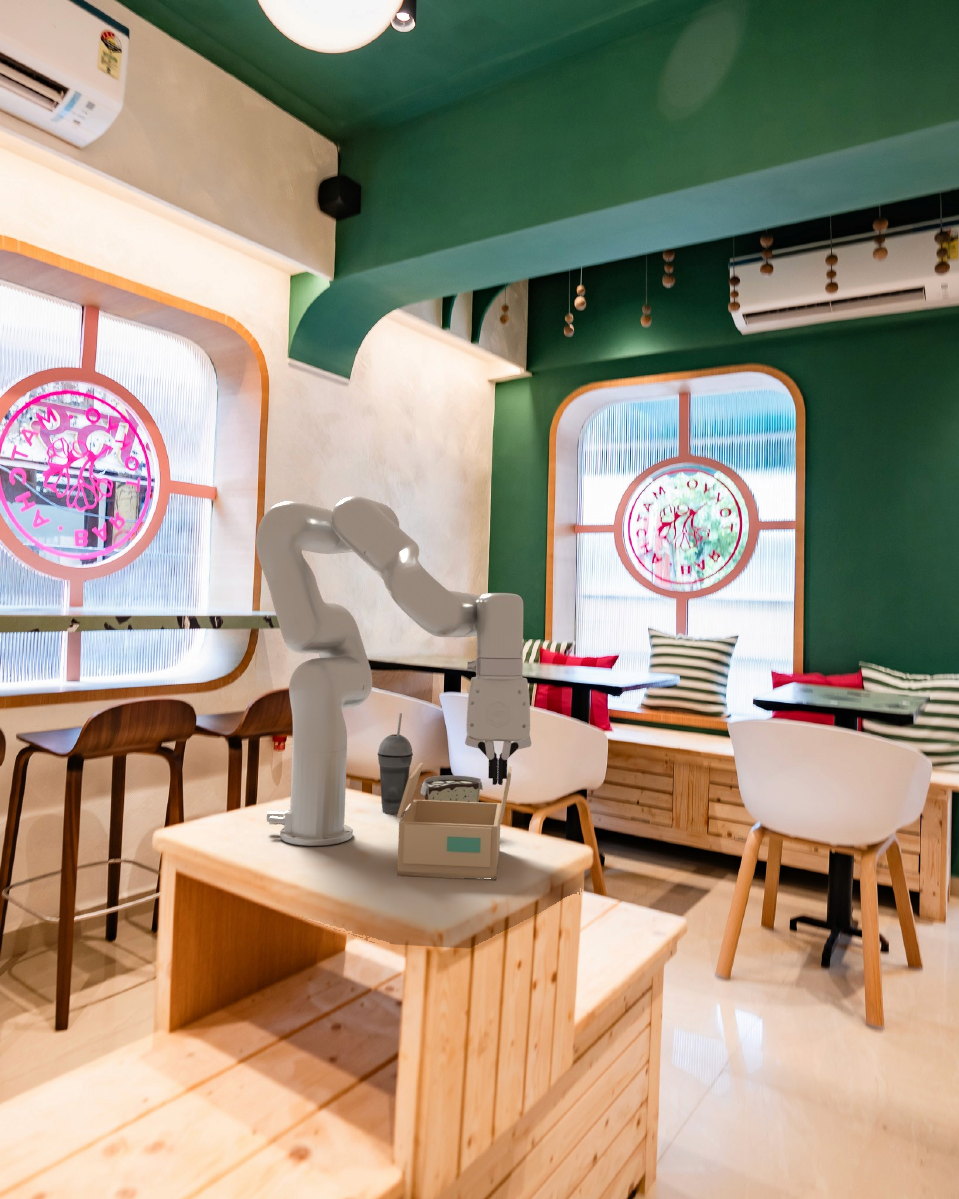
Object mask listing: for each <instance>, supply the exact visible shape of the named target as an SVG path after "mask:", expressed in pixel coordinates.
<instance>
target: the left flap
mask: <svg viewBox="0 0 959 1199" xmlns="http://www.w3.org/2000/svg"><path fill="white" fill-rule="evenodd" d="M423 766H424V763H423V762H420V763H418V765H417V766H416V767H415V769H414V770H412V772H411V774H409V778H408V781H407V785H406V788H405V791H404V795H403V798H402V801H401V804H400V808H399V811H398V814H396V818H398V819H401V818H402V817H403V815H404V814H405V812H406V811H407V809H408V808H409V806H410V805H411V803H412V802H413V800H414V799H413V798H414V795H415V791H416V788H417V785H418V782H419V778H420V775H421V771H422V768H423Z"/></svg>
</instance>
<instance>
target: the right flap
mask: <svg viewBox="0 0 959 1199" xmlns="http://www.w3.org/2000/svg"><path fill="white" fill-rule="evenodd" d="M512 769H513V766H510V765H508V768H507V779H505V784H504V789H503V793H502V798H501V809H500V816H499V823H500V824H503V819H504V814H505V809H506V804H507V799H508V794H509V790H510V785H511V780H512Z"/></svg>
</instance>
